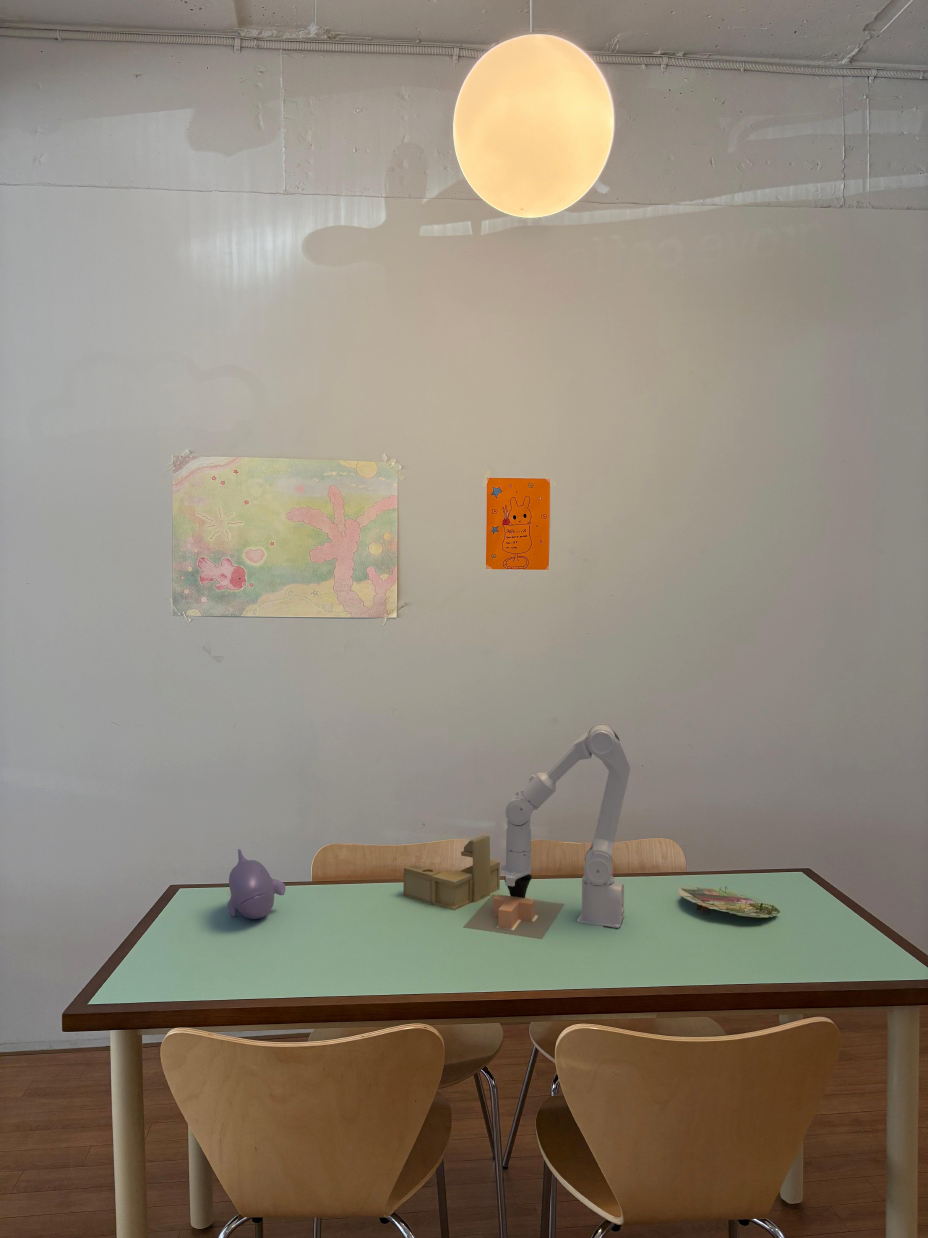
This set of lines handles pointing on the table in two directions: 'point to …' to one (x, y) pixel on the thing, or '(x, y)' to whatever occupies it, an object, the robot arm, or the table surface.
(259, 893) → the toy whale
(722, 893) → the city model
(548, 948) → the table surface
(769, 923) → the table surface
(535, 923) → the mat
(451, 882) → the toy kitchen set
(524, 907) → the t block
